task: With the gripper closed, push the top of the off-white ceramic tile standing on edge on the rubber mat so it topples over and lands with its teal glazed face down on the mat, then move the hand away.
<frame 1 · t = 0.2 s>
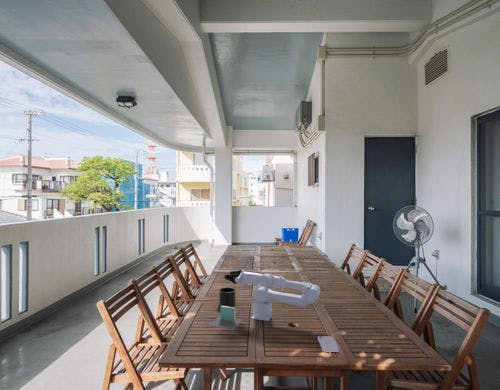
hand: (227, 275, 185), 21 cm above the table, tool horizontal, fingers open, 7 cm apart
mobile phone: (328, 345, 148), on the table
mug: (226, 306, 196), on the table
tile: (228, 320, 174), resting on mat
mat: (225, 323, 171), on the table
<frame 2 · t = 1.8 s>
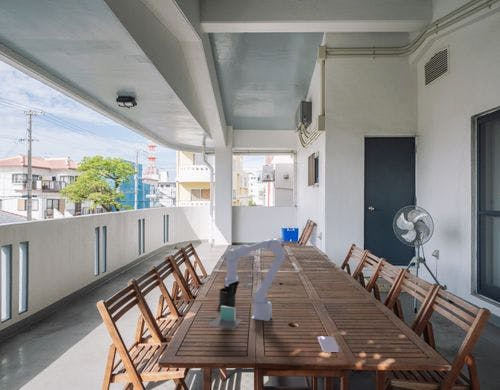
hand: (231, 295, 182), 10 cm above the table, tool pointing down, fingers open, 5 cm apart
nothing on the table moved.
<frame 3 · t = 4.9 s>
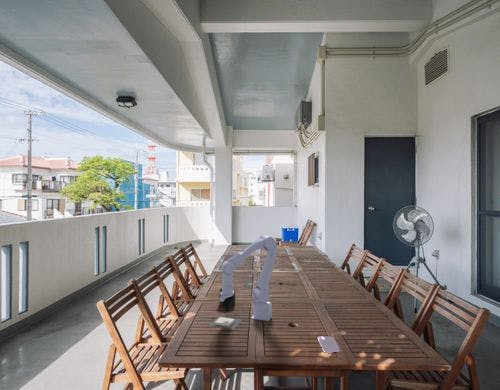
hand: (227, 310, 173), 6 cm above the table, tool pointing down, fingers closed
tile: (227, 319, 173), point 1 cm above the table, tilted 90°, touching mat
everything else where it was.
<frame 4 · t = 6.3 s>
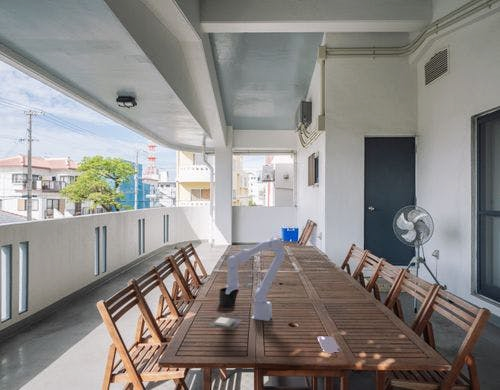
hand: (232, 303, 179), 7 cm above the table, tool pointing down, fingers closed
nothing on the table moved.
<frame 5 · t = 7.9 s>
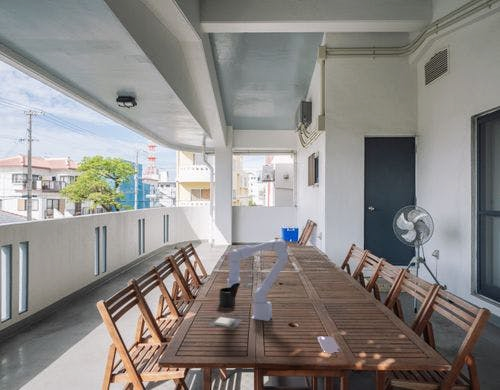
hand: (233, 296, 181), 10 cm above the table, tool pointing down, fingers closed
nothing on the table moved.
at the end: tile tilted 90°; tile inside the target area (2.7 cm from its centre), point 1.2 cm above the table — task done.
